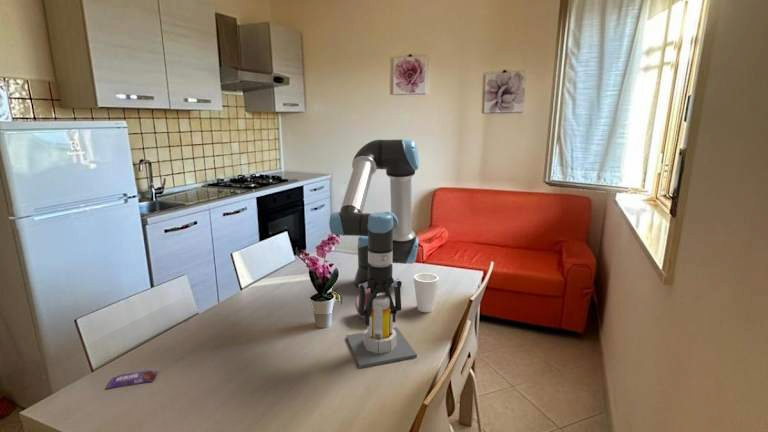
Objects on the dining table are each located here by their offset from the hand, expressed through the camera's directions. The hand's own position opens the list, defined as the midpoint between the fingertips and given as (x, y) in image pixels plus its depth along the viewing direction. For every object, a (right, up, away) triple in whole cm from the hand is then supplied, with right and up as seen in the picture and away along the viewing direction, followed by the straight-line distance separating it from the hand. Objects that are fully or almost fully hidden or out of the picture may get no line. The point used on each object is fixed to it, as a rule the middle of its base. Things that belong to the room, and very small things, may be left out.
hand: (379, 332), depth 127 cm
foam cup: (+17, +1, +28) cm, 33 cm away
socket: (0, -5, +1) cm, 5 cm away
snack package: (-69, -10, -15) cm, 71 cm away
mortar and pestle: (-3, -1, +21) cm, 21 cm away
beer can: (0, -3, 0) cm, 3 cm away
